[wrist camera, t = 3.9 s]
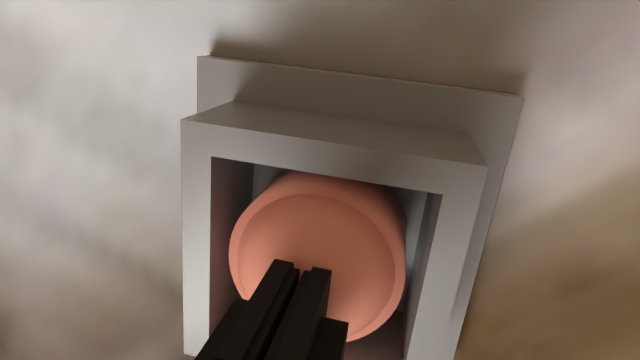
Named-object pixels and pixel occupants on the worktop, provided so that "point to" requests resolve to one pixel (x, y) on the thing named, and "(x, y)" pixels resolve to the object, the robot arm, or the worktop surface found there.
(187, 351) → the button housing
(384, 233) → the dome button
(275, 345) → the robot arm
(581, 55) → the worktop surface
